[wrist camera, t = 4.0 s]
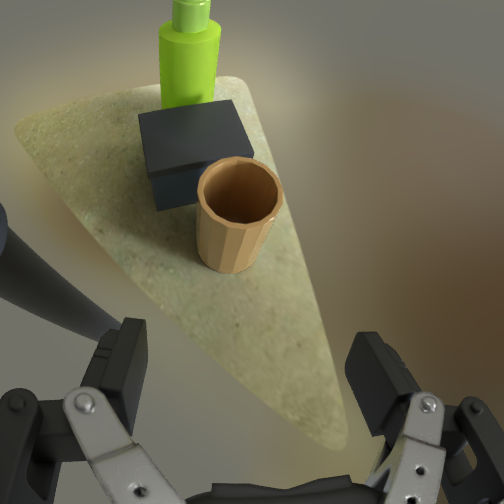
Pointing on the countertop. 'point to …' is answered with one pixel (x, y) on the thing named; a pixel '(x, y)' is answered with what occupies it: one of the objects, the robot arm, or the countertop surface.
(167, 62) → the soap dispenser
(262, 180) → the cup
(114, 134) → the countertop surface
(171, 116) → the dark grey box
